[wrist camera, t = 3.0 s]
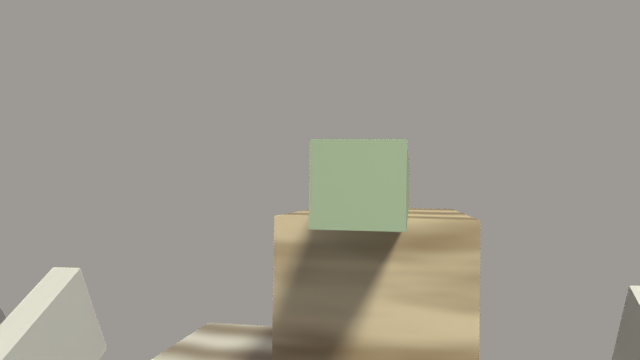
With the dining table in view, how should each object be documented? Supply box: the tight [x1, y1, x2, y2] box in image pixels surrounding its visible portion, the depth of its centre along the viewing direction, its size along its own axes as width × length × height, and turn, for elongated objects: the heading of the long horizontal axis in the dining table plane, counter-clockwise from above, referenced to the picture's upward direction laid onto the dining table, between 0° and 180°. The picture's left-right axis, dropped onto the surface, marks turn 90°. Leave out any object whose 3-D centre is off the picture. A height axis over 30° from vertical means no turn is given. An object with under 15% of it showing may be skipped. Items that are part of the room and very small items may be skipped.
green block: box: [309, 139, 409, 232], centre depth 31 cm, size 26×3×3 cm, turn 171°
